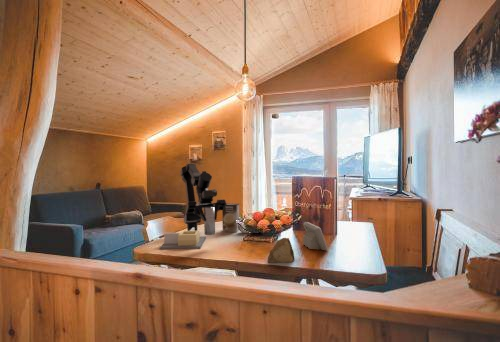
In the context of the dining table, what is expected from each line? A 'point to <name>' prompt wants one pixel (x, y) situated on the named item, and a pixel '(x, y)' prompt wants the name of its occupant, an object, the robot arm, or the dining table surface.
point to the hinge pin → (209, 220)
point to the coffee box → (230, 217)
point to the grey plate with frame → (183, 240)
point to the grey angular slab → (314, 237)
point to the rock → (282, 251)
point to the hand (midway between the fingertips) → (210, 220)
